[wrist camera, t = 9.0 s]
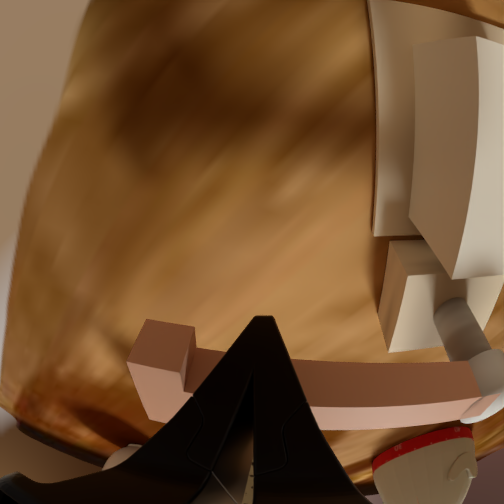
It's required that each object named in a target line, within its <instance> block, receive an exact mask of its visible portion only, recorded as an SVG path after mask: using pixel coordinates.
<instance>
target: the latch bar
mask: <svg viewBox="0 0 504 504" xmlns="http://www.w3.org/2000/svg"><path fill="white" fill-rule="evenodd" d="M225 353H226V352H223V351H215V350H208V349H202V348H196V338H195V327H192V326H186V325H179V324H173V323H167V322H161V321H155V320H150V319H146V321H145V323H144V325H143V327H142V329H141V331H140V333H139V335H138V337H137V339H136V342H135V344H134V346H133V348H132V350H131V352H130V354H129V356H128V359H127V361H126V362H127V365H128V368H129V370H130V373H131V376H132V378H133V381H134V384H135V386H136V389H137V391H138V394H139V396H140V398H141V401H142V403H143V406H144V408H145V410H146V413H147V415H148V417H149V419H151V420H155V421H159V422H163V423H167V422H168V421H169V420H170V419H171V418H172V417H173V416H174V415H175V414H176V413H177V412H178V411H179V410H180V408H181V407H182V406H183V405H184V404H185V403H186V401H187V400H188V399H189V398H190V397H191V396H193V393H194V392H195V391H196V389H197V388H198V387H199V386H200V385H201V383H202V382H203V381H204V380H205V378H206V377H207V376H208V375H209V373H210V372H211V371H212V370H213V368H214V367H215V366H216V365H217V363H218V362H219V361H220V360H221V358H222V357H223V356H224V355H225ZM291 361H292V364H293V366H294V369H295V371H296V374H297V376H298V379H299V381H300V384H301V386H302V388H303V391H304V393H305V396H306V398H307V402H308V403H309V405H310V408H311V410H312V413H313V415H314V417H315V419H316V422H317V424H318V426H319V428H320V430H363V429H384V428H397V427H408V426H418V425H426V424H434V423H441V422H448V421H454V420H460V421H461V422H462V423H465V424H469V423H474V422H478V421H480V420H483V419H485V418H487V417H489V416H491V415H493V414H494V413H496V412H498V411H499V410H500V409H502V408H503V407H504V353H503V351H501V350H499V349H491V350H487V351H484V352H482V353H480V354H478V355H476V356H474V357H472V358H471V359H469V360H468V361H454V362H432V363H352V362H329V361H312V360H298V359H291Z"/></svg>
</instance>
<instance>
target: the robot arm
mask: <svg viewBox="0 0 504 504" xmlns="http://www.w3.org/2000/svg"><path fill="white" fill-rule="evenodd" d="M252 459H253V476H254V478H253V502H252V504H372V503H371V502H370V501H369V500H368V499H367V498H366V497H365V496H363V495H362V493H361V492H360V491H359V490H358V489H357V488H356V486H355V485H354V484H353V482H352V481H351V479H350V478H349V476H348V475H347V473H346V472H345V470H344V469H343V467H342V465H341V464H340V462H339V460H338V459H337V457H336V456H335V454H334V452H333V451H332V449H331V448H330V446H329V444H328V443H327V441H326V439H325V437H324V435H323V434H322V432H321V430H320V428H319V426H318V424H317V422H316V419H315V417H314V415H313V413H312V410H311V408H310V405H309V403H308V402H307V398H306V396H305V393H304V391H303V388H302V386H301V384H300V381H299V379H298V376H297V374H296V371H295V369H294V366H293V364H292V361H291V359H290V356H289V354H288V351H287V349H286V346H285V344H284V341H283V339H282V336H281V334H280V331H279V329H278V326H277V324H276V321H275V319H274V317H273V316H254V317H253V319H252V320H251V321H250V323H249V324H248V325H247V326H246V328H245V329H244V330H243V332H242V333H241V334H240V336H239V337H238V338H237V339H236V341H235V342H234V343H233V344H232V346H231V347H230V348H229V350H228V351H227V352H226V353H225V355H224V356H223V357H222V358H221V360H220V361H219V362H218V363H217V365H216V366H215V367H214V368H213V370H212V371H211V372H210V373H209V375H208V376H207V377H206V378H205V380H204V381H203V382H202V383H201V385H200V386H199V387H198V388H197V389H196V391H195V392H194V393H193V396H191V397H190V398H189V399H188V400H187V401H186V403H185V404H184V405H183V406H182V407H181V408H180V410H179V411H178V412H177V413H176V414H175V415H174V416H173V417H172V418H171V419H170V420H169V421H168V422H167V423H166V424H165V425H164V426H163V427H162V428H161V429H160V430H159V431H158V432H157V433H156V434H155V435H154V436H152V437H151V438H150V439H149V440H148V441H147V442H146V443H145V444H144V445H142V446H141V447H140V448H139V449H138V450H137V451H136V452H134V453H133V454H132V455H131V456H130V457H129V458H127V459H126V460H125V461H123V462H122V463H120V464H118V465H116V466H114V467H112V468H109V469H106V470H103V471H99V472H96V473H92V474H88V475H85V476H81V477H77V478H74V479H69V480H65V481H61V482H56V483H38V482H35V481H33V480H31V479H29V478H28V477H26V476H24V475H23V474H21V473H19V472H14V473H11V474H8V475H6V476H3V477H2V478H0V504H242V501H243V497H244V493H245V489H246V485H247V481H248V476H249V472H250V468H251V464H252Z"/></svg>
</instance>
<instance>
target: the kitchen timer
mask: <svg viewBox="0 0 504 504" xmlns="http://www.w3.org/2000/svg"><path fill="white" fill-rule="evenodd" d="M372 470H373V478H374V481H375V485H376V487H377V490H378V492H379V494H380V496H381V498H382V500H383V504H462V502H463V500H464V498H465V496H466V494H467V492H468V489H469V487H470V483H471V480H472V478H475V477H476V476H477V463H476V459H475V446H474V440H473V436H472V432H471V430H470V429H469V428H468V427H462V426H460V427H450V428H446V429H441V430H437V431H434V432H430V433H427V434H424V435H421V436H418V437H415V438H413V439H410V440H407V441H405V442H403V443H400V444H398V445H396V446H394V447H392V448H390V449H388V450H386V451H385V452H383V453H381V454H380V455H379V456H378V457H376V458H375V459H374V461H373V463H372Z"/></svg>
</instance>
